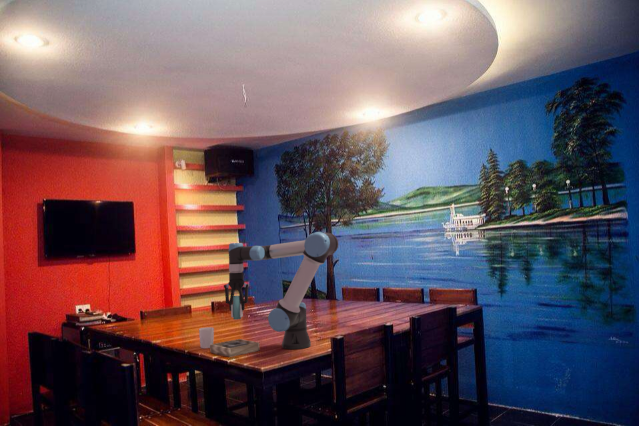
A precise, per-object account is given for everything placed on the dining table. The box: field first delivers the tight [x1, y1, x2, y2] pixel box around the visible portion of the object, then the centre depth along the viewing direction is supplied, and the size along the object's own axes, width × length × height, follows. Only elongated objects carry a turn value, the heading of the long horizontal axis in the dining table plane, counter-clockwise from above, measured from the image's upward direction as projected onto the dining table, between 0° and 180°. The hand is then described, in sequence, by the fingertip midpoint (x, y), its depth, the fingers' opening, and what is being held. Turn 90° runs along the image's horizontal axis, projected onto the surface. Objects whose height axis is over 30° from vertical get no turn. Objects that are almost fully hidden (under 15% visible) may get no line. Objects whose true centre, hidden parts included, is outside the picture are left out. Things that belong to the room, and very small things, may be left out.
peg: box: [232, 295, 242, 321], centre depth 246 cm, size 4×4×12 cm
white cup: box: [198, 326, 215, 349], centre depth 255 cm, size 8×8×10 cm
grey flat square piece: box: [209, 338, 261, 358], centre depth 240 cm, size 18×18×4 cm
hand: (237, 316), depth 246 cm, fingers closed on peg, 4 cm apart
